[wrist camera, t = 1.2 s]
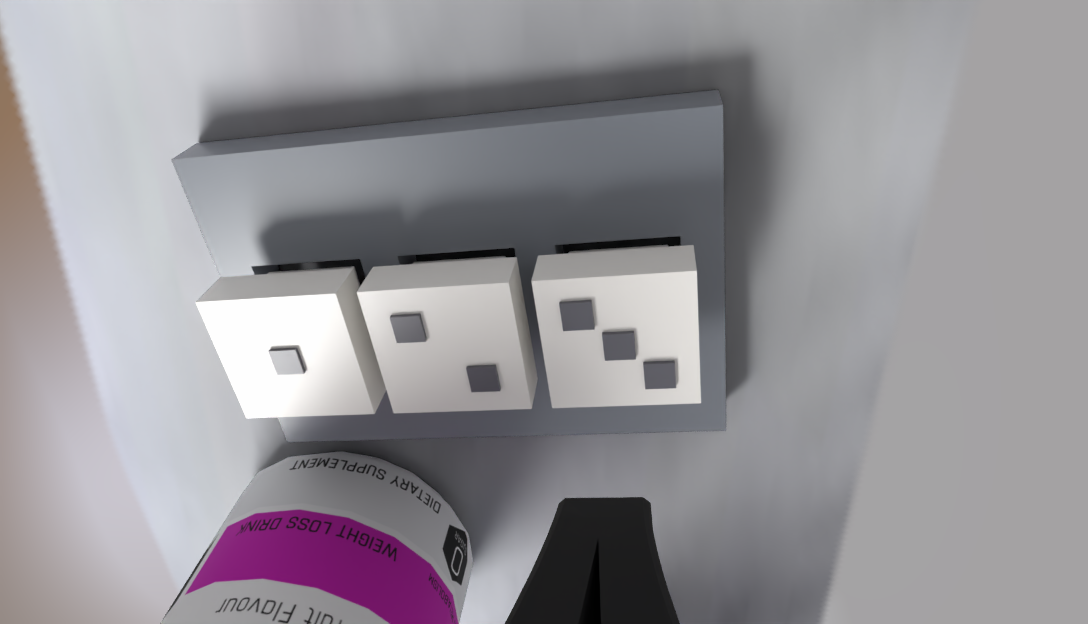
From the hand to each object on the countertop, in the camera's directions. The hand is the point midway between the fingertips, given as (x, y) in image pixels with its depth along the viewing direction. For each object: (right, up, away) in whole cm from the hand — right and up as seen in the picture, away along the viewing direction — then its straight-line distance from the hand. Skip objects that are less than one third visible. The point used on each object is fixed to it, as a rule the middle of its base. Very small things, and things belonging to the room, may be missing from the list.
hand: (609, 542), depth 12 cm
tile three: (+1, +5, +8) cm, 9 cm away
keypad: (-3, +4, +8) cm, 10 cm away
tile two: (-3, +4, +8) cm, 10 cm away
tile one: (-7, +4, +9) cm, 12 cm away
